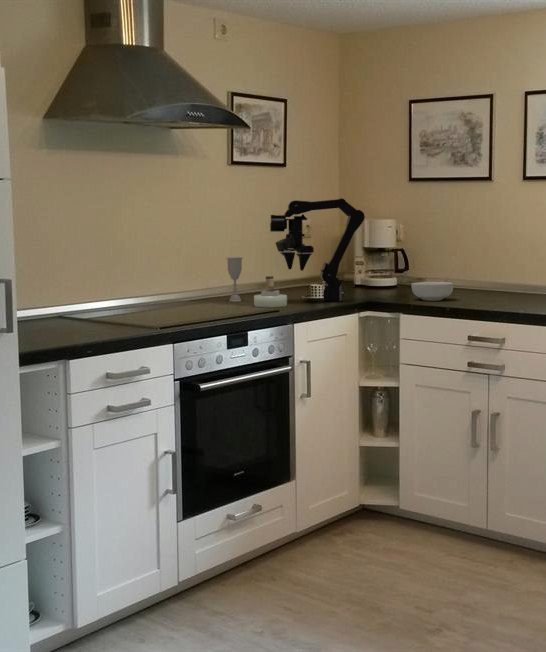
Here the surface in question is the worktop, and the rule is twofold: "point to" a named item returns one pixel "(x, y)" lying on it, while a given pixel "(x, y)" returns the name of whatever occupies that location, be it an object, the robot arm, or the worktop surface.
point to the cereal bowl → (432, 290)
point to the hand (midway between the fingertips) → (295, 270)
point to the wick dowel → (269, 283)
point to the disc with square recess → (270, 299)
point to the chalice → (234, 273)
